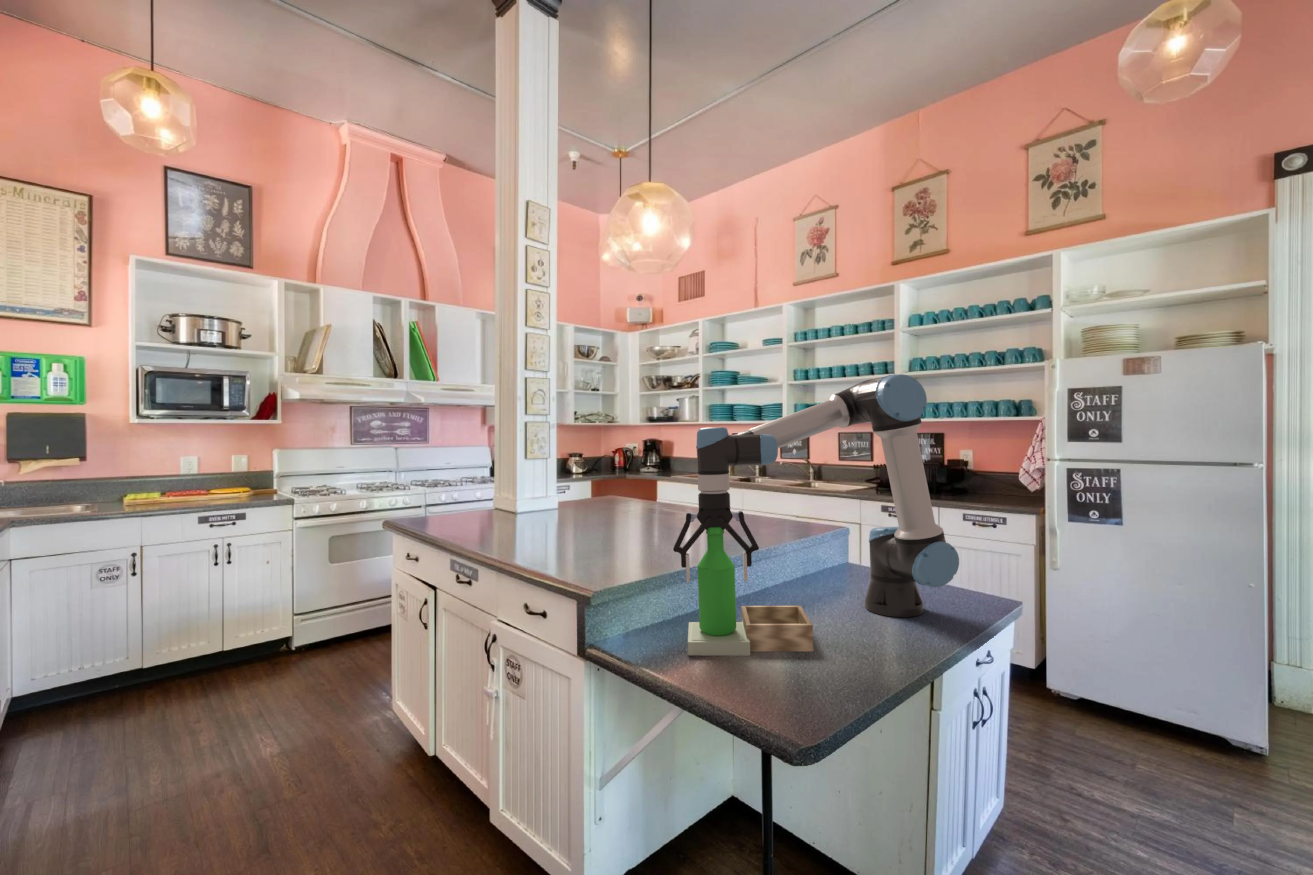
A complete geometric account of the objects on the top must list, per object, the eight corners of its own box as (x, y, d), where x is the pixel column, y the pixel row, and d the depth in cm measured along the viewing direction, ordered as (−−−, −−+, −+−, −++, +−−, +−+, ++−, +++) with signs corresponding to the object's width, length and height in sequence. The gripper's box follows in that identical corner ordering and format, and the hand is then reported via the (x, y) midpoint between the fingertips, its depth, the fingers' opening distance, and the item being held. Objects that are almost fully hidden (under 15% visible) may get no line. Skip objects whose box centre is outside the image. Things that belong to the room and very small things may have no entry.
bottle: (724, 639, 127) (721, 530, 128) (692, 632, 133) (689, 527, 133) (743, 628, 134) (739, 524, 135) (712, 622, 140) (709, 522, 140)
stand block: (745, 633, 140) (744, 621, 140) (750, 655, 126) (749, 641, 126) (689, 633, 141) (688, 621, 141) (688, 655, 127) (687, 641, 127)
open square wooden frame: (801, 629, 142) (800, 605, 142) (813, 651, 127) (812, 625, 127) (741, 629, 143) (741, 605, 143) (747, 651, 128) (746, 625, 129)
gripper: (764, 489, 137) (767, 575, 136) (662, 491, 138) (665, 577, 138) (768, 491, 129) (771, 583, 129) (660, 494, 131) (663, 585, 131)
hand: (716, 580), depth 134 cm, fingers open, 13 cm apart
